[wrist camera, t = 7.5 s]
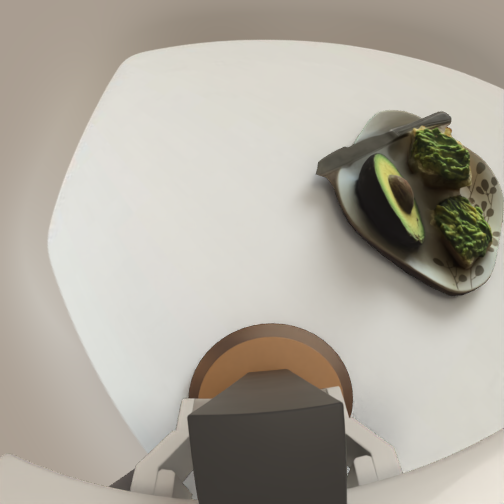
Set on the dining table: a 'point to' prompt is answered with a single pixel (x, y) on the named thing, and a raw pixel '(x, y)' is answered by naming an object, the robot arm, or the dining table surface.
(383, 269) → the dining table surface
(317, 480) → the slab on wooden base
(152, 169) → the dining table surface
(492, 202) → the salad plate
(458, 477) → the robot arm
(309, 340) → the swivel stand
